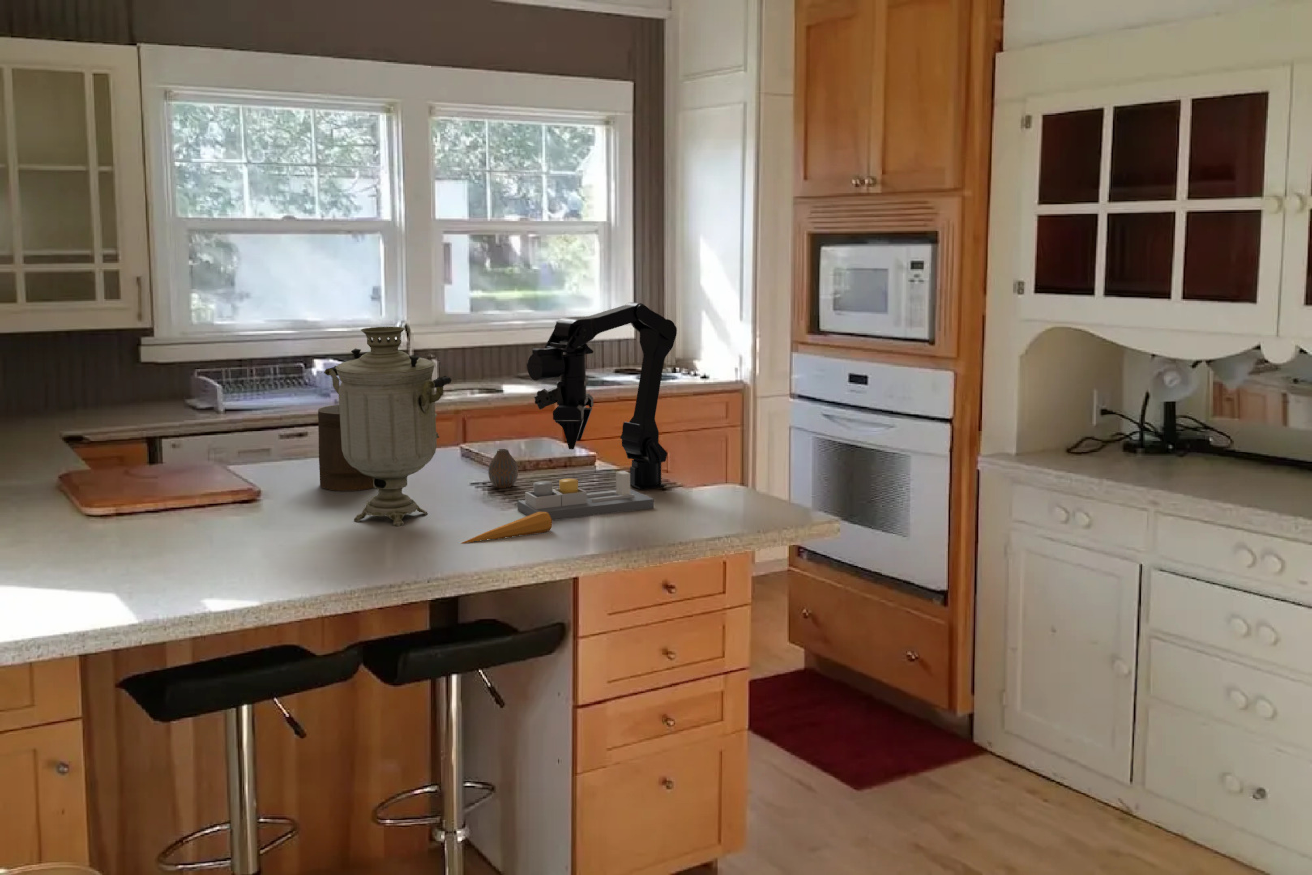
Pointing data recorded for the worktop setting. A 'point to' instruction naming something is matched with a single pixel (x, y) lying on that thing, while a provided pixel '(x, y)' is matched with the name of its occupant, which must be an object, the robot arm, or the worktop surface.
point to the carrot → (519, 527)
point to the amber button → (568, 486)
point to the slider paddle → (622, 483)
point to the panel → (583, 503)
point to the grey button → (542, 488)
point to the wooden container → (336, 456)
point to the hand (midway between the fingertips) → (574, 444)
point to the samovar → (387, 418)
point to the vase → (503, 469)
